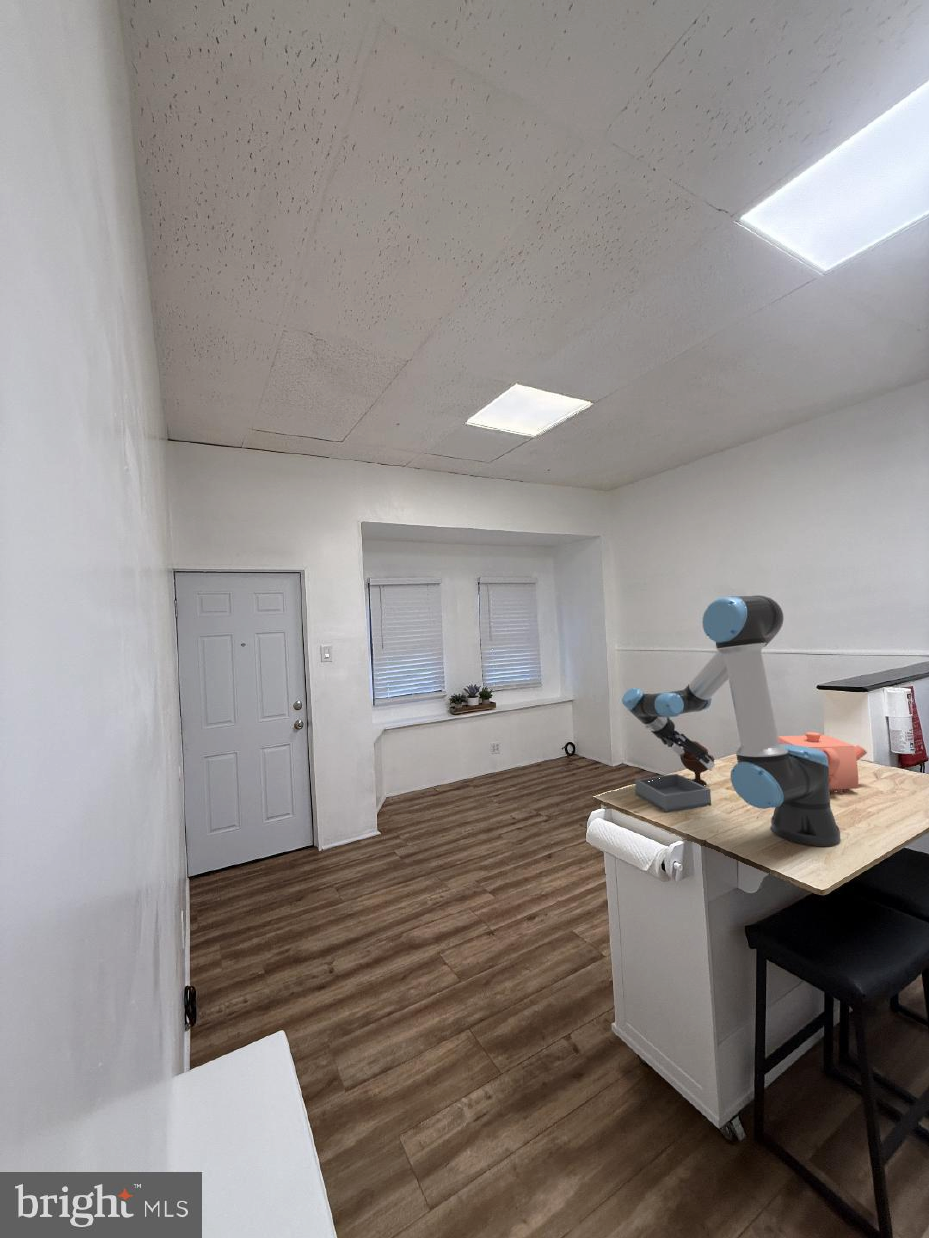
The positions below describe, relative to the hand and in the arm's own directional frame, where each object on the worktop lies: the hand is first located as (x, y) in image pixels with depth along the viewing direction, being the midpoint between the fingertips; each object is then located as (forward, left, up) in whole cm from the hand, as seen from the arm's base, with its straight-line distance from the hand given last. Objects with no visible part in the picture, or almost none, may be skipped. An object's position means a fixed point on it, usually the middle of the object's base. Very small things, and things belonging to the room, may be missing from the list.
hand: (698, 761), depth 170 cm
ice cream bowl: (-1, +1, -8) cm, 8 cm away
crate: (-10, +18, -7) cm, 22 cm away
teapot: (-18, -35, -8) cm, 40 cm away
